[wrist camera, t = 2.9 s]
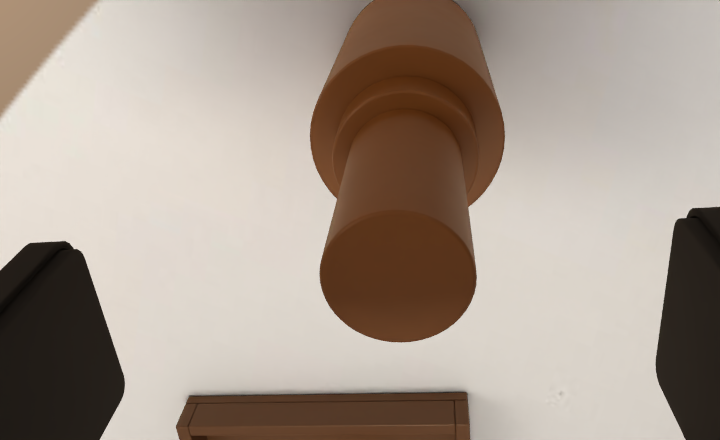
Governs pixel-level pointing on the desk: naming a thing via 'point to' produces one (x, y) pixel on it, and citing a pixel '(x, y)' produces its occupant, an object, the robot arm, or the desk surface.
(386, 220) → the bottle
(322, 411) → the tray
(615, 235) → the desk surface
